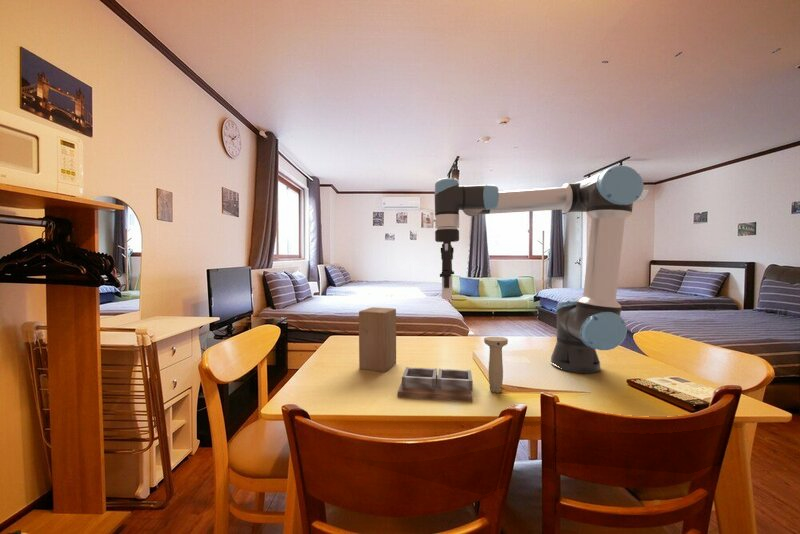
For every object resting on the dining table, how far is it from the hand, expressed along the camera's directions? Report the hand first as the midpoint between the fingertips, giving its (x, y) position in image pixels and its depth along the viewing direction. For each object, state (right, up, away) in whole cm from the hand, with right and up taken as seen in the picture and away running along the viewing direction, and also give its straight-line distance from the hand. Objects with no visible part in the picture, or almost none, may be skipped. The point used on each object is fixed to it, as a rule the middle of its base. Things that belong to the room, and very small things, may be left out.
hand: (447, 296), depth 104 cm
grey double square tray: (-5, -26, -9) cm, 28 cm away
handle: (+12, -26, -11) cm, 31 cm away
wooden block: (-23, -26, +11) cm, 36 cm away
